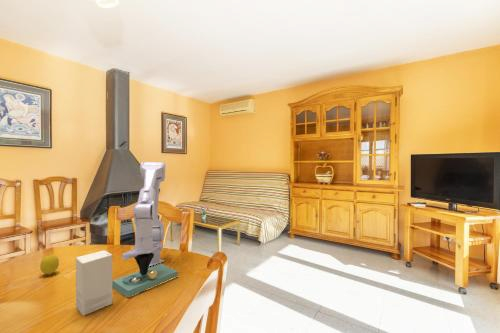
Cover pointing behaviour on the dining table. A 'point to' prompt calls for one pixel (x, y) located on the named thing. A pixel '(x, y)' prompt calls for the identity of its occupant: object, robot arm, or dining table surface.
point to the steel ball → (135, 280)
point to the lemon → (49, 264)
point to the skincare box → (93, 281)
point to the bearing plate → (143, 280)
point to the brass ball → (152, 274)
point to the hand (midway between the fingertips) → (143, 273)
